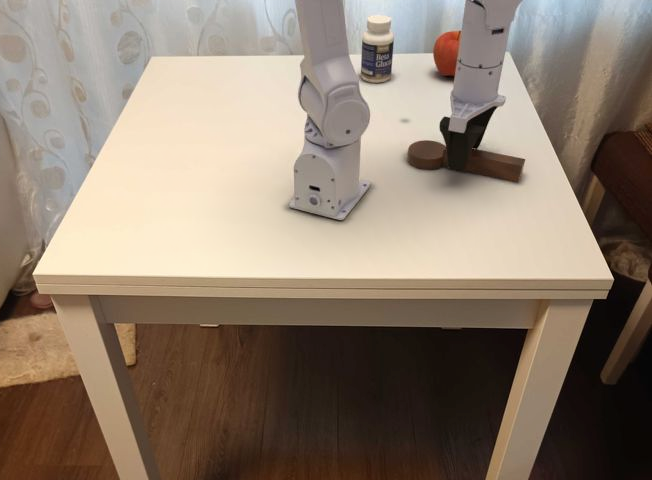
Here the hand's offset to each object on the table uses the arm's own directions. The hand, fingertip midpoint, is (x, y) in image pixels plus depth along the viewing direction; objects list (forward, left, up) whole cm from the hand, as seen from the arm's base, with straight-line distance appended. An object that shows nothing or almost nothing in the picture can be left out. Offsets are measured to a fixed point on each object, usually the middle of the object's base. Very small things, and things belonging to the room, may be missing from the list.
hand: (463, 158), depth 90 cm
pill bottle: (+24, +23, -2) cm, 33 cm away
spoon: (0, 0, -1) cm, 1 cm away
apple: (+30, +11, -2) cm, 32 cm away
